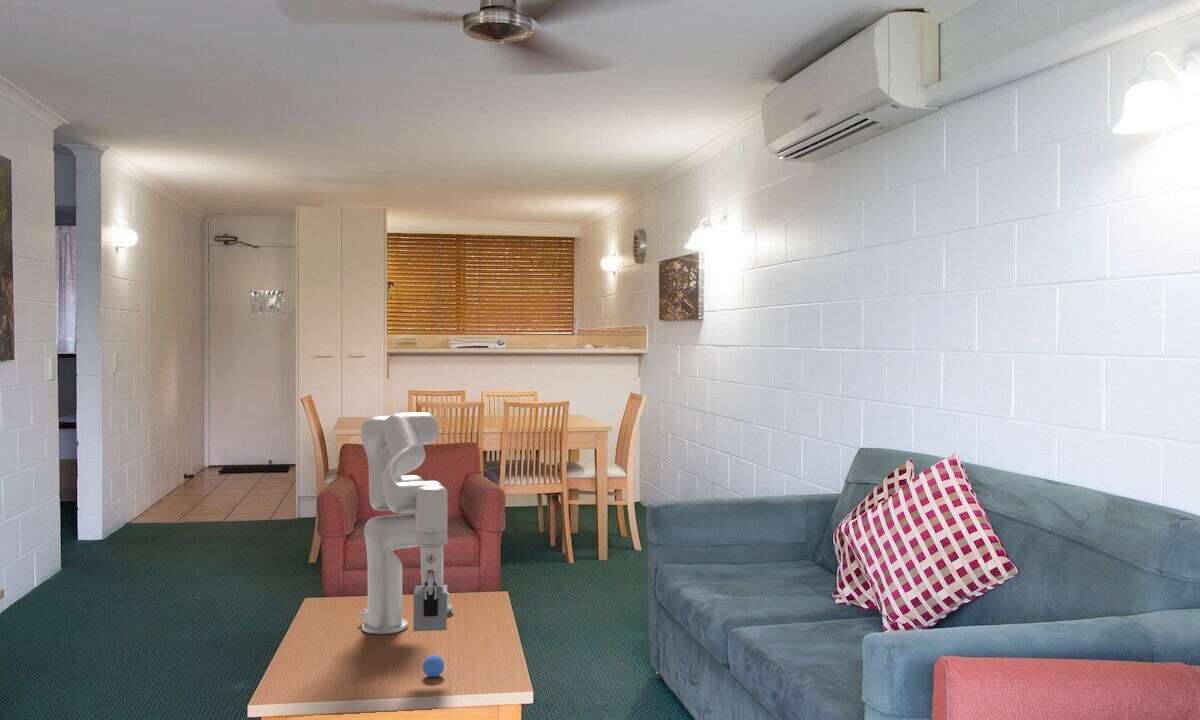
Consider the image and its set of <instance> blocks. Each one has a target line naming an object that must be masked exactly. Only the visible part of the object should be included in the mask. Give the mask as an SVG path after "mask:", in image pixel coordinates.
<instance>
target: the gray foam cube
mask: <svg viewBox="0 0 1200 720" xmlns="http://www.w3.org/2000/svg"><path fill="white" fill-rule="evenodd" d="M427 586H428V585H427ZM433 586H435V585H433ZM447 592H448V584H443V587H442V588H440V586H437V599H438V615H437V616H428V617H425V616H424V599H425V588H423V587H422V584H421V585H415V586H414V591H413V625H412V626H413V628H412V629H413V632H429V631H430V632H434V631H447V630H448V614H447Z"/></svg>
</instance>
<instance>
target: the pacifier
mask: <svg viewBox="0 0 1200 720" xmlns="http://www.w3.org/2000/svg"><path fill="white" fill-rule="evenodd" d="M450 595H451V594H450V593H449V592H448V591H447V615H448V614H450V612H452V611H454V608H452V604H451V603H450V602H449V601H450V598H451V596H450Z"/></svg>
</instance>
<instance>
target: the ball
mask: <svg viewBox="0 0 1200 720" xmlns="http://www.w3.org/2000/svg"><path fill="white" fill-rule="evenodd" d="M444 668H445V662H444V660H443V658H442V657H441V656H439V655H437V654H432V655H429V656H428V657H426V658H425V659H424V661H423V664H422V669H423V672H424V674H425V675H426V676H427V677H429V678H436V677H438V676H440V675H441V674H442V673H443V671H444Z"/></svg>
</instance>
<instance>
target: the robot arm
mask: <svg viewBox="0 0 1200 720" xmlns="http://www.w3.org/2000/svg"><path fill="white" fill-rule="evenodd" d="M439 429H440V428H439V424H438V421H437V419H436V417H435V416H434V415H433V414H432V413H431V412H400V413H399V412H397V413H394V414H391V415H381V416H380V415H379V416H373V417H369V418H367V419H366V420H364V421H363V423H362V425H361V429H360V430H361V431H360V435H361V436H360V438H361V443H362V446H363V449H364V451H365V454H366V457H367V461H368V462H367V463H368V498H369V504H370V506H371V508H372V509H374V510H375V511H391V512H392V513H394V514H387V515H386V514H385V515H377V516H374V517H371V518H369V519H368V520H367V522H365V524H364V529H363V531H364V532H363V533H364V541H365V547H366V554H367V555H366V556H367V608H363V609H362V610H361V611H360V612H359V614H358V615H359V617H360V618H364V622H363V623H362V624H361V630H362V631H363V632H365V633H367V634H373V635H388V634H395V633H398V632H402V631H404V630H406V629H407V628H408V627H409V624H408V623H409V622H408V621H407V620H406V619H404V618H403V564H402V561H401V560H400V558H399V556H397V555H396V554H395V552H394V550H399V549H408V548H409V549H410V548H417V547H420V578H421V585H422V587H423V588H425V599H424V616H425V617H428V616H437V615H438V599H437V586H440V588H442V587H443V585H444V546H446V545H447V544H448V490H447V488H446V487H445V486H443V484H442V483H441V482H439V481H437V480H424V479H423V478H422V477H421V476H419V475H415V474H409V473H411V472H412V471H414V470H416V469H418V468H419V467H420V466H421V465H422V464H423V463H424V461H425V459H426V451H425V447H424V445H431V444H434V443H435V442H436V441H437V439H438V437H439ZM407 474H409V475H407ZM427 585H428V586H427ZM433 585H435V586H433Z"/></svg>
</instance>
